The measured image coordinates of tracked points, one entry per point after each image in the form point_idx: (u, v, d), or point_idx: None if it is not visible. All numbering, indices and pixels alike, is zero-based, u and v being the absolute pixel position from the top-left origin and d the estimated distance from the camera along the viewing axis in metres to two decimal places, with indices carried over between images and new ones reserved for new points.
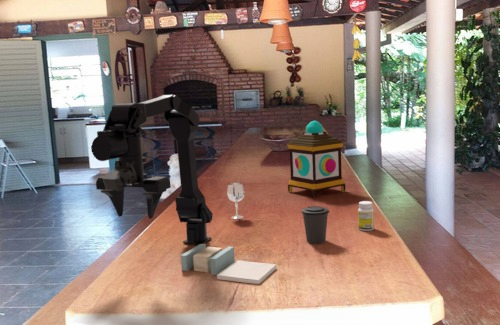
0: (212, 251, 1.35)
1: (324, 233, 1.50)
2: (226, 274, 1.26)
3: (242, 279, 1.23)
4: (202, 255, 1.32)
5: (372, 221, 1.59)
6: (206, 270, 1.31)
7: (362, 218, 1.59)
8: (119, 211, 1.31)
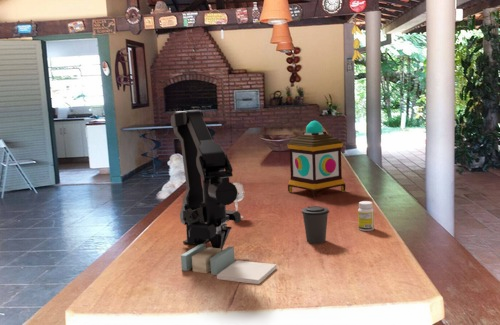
0: (211, 252, 1.34)
1: (324, 233, 1.50)
2: (226, 274, 1.26)
3: (242, 279, 1.23)
4: (201, 256, 1.31)
5: (372, 221, 1.59)
6: (204, 271, 1.30)
7: (362, 218, 1.59)
8: None
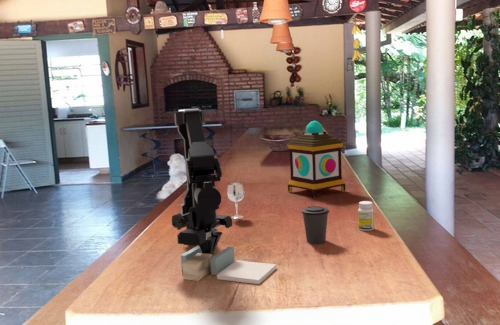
0: (202, 258, 1.29)
1: (324, 233, 1.50)
2: (226, 274, 1.26)
3: (242, 279, 1.23)
4: (192, 262, 1.26)
5: (372, 221, 1.59)
6: (196, 278, 1.25)
7: (362, 218, 1.59)
8: None
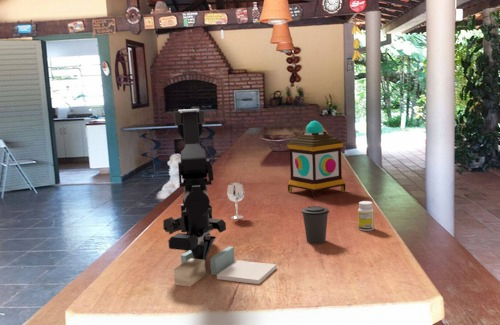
0: (194, 263, 1.26)
1: (324, 233, 1.50)
2: (226, 274, 1.26)
3: (242, 279, 1.23)
4: (184, 268, 1.23)
5: (372, 221, 1.59)
6: (188, 284, 1.22)
7: (362, 218, 1.59)
8: None
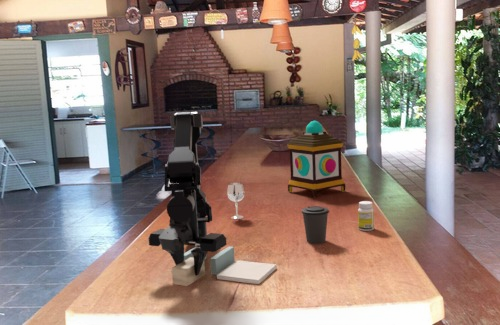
0: (193, 262, 1.26)
1: (324, 233, 1.50)
2: (226, 274, 1.26)
3: (242, 279, 1.23)
4: (181, 267, 1.23)
5: (372, 221, 1.59)
6: (185, 283, 1.22)
7: (362, 218, 1.59)
8: None
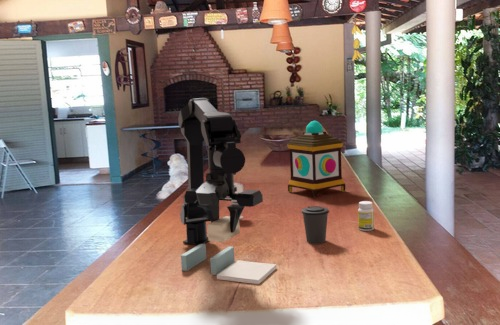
0: (228, 220, 1.26)
1: (324, 233, 1.50)
2: (226, 274, 1.26)
3: (242, 279, 1.23)
4: (217, 224, 1.23)
5: (372, 221, 1.59)
6: (221, 239, 1.22)
7: (362, 218, 1.59)
8: None
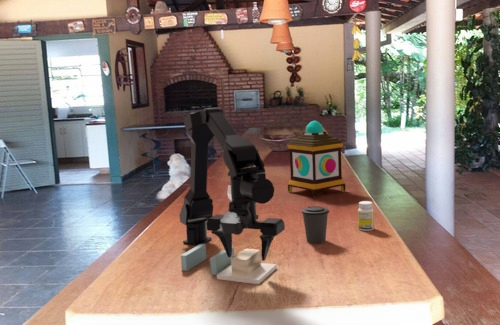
0: (250, 253, 1.28)
1: (324, 233, 1.50)
2: (226, 274, 1.26)
3: (242, 279, 1.23)
4: (241, 258, 1.25)
5: (372, 221, 1.59)
6: (245, 273, 1.24)
7: (362, 218, 1.59)
8: (228, 252, 1.29)
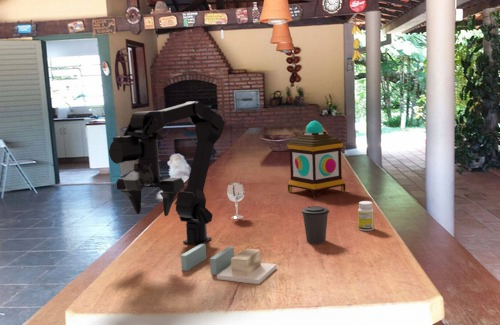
0: (250, 253, 1.28)
1: (324, 233, 1.50)
2: (226, 274, 1.26)
3: (242, 279, 1.23)
4: (241, 258, 1.25)
5: (372, 221, 1.59)
6: (245, 273, 1.24)
7: (362, 218, 1.59)
8: (137, 209, 1.44)
